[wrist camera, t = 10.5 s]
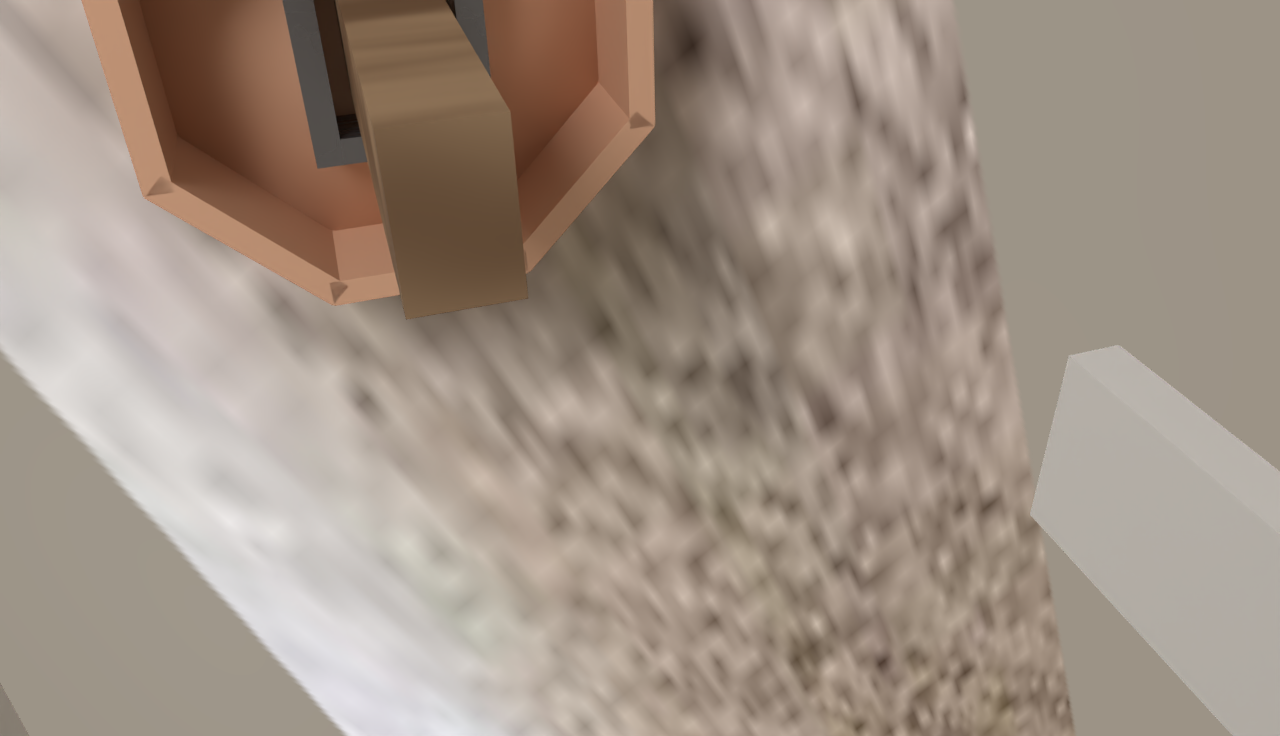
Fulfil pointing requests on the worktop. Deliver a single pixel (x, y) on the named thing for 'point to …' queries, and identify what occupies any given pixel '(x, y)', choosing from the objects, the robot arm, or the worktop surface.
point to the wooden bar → (435, 155)
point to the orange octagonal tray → (278, 128)
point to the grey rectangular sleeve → (329, 133)
